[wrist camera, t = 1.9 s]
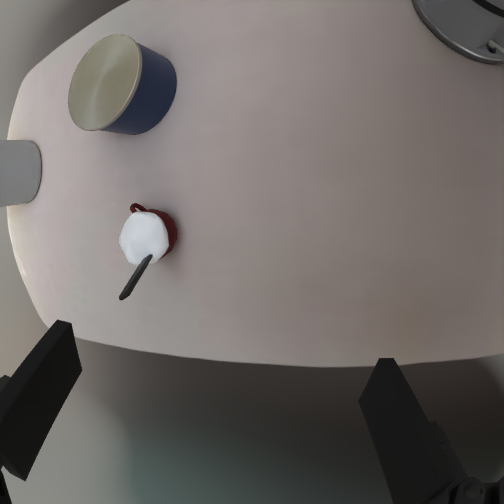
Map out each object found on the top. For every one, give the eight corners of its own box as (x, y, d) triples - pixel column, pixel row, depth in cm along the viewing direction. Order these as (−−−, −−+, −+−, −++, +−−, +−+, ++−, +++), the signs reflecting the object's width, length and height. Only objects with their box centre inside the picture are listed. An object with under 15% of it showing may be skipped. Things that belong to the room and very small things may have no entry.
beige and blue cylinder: (141, 41, 34) (104, 23, 26) (195, 75, 33) (158, 55, 25) (97, 109, 38) (57, 103, 31) (141, 153, 37) (98, 150, 30)
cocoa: (139, 203, 39) (70, 213, 28) (177, 193, 37) (109, 200, 25) (154, 273, 40) (91, 302, 29) (193, 268, 38) (131, 300, 27)
